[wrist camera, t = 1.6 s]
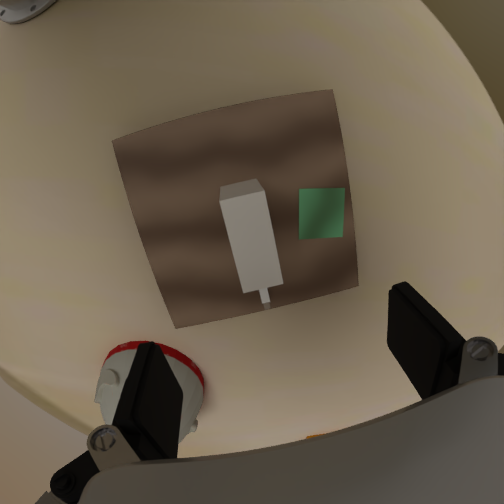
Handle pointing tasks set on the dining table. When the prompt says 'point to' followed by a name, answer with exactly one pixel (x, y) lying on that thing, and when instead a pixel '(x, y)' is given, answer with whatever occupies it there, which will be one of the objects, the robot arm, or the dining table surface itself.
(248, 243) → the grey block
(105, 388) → the chicken figurine
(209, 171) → the dial board
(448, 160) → the dining table surface
